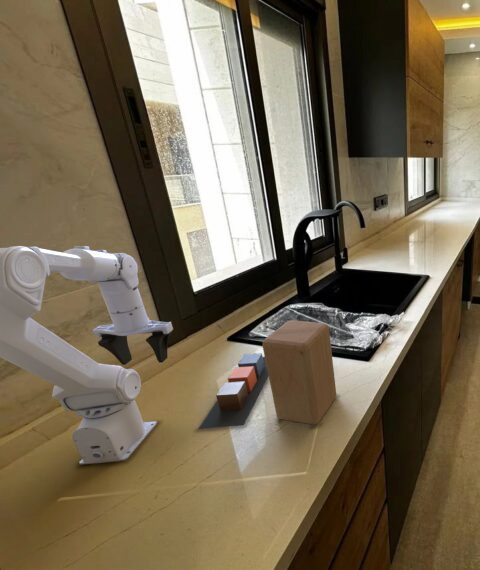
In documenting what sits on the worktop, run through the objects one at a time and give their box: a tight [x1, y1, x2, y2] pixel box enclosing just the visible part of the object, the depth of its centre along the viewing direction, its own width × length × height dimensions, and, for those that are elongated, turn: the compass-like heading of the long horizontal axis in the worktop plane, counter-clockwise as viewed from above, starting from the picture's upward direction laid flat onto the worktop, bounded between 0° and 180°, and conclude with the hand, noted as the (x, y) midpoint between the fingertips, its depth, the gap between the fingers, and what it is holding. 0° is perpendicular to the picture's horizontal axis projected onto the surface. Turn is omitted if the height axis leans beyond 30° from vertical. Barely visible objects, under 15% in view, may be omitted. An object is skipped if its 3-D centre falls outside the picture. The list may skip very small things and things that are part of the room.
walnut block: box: [215, 381, 248, 411], centre depth 74 cm, size 4×4×4 cm
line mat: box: [198, 356, 269, 430], centre depth 81 cm, size 26×9×1 cm, turn 7°
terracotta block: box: [227, 366, 257, 392], centre depth 80 cm, size 4×4×4 cm
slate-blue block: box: [237, 352, 265, 377], centre depth 85 cm, size 4×4×4 cm
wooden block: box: [262, 319, 337, 426], centre depth 71 cm, size 10×10×20 cm
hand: (145, 361), depth 75 cm, fingers open, 7 cm apart
